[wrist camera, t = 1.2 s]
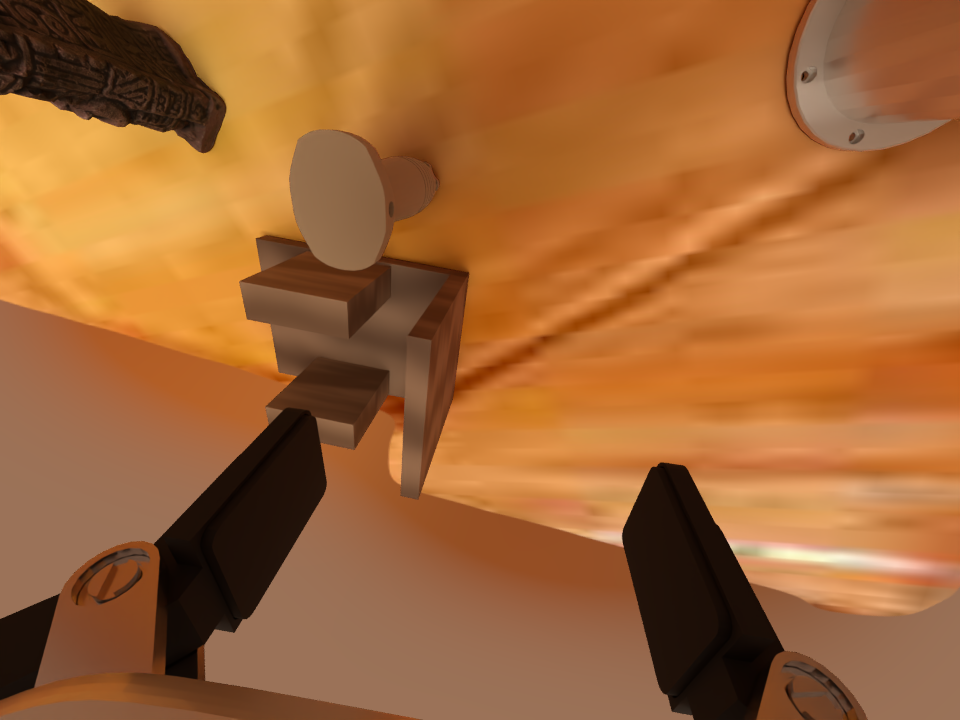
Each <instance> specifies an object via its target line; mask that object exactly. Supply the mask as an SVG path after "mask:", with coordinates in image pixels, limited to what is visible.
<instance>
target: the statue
mask: <svg viewBox="0 0 960 720" xmlns="http://www.w3.org/2000/svg"><path fill="white" fill-rule="evenodd" d="M9 93H13V94H17V95H21V96H25V97H29V98H34V99H38V100H43V101H48V102H51V103H52V104H53V105H55V106H56V107H58V108H59V109H60V110H67V111H71V112H74V113H75V114H76V115H77V116H79V117H81V118H83V119H86V120H90V119H91V118H92V117H95V118H97V119H99V120H101V121H103V122H106V123H108V124H111V125H114V126H117V127H125V126H127V125H128V124H130V123H131V124H134V125H141V126H144V127H147V128H150V129H153V130H157V131H160V132H166V131H170V130H174V131H175V132H176V133H177V135H178V136H180V137H182V138H184V139H185V140H186V141H187V142H188V143H189V144H190V145H191V146H192V147H193V148H195V149H196V150H197V151H199V152H201V153H206V152H208V151H209V150H210V149H211V148H212V147H213V145H214V141H215V137H216V135H217V133H218V131H219V129H220V127H221V123H222V121H223V118H224V116H225V111H226V106H225V103H224V101H223V100H222V99H221V98H220V97H219V96H218V95H217V93H216V92H213V91H212V90H211V89H210V88H209V87H208V86H207V85H206V84H205V83H204V82H203V81H202V80H201V79H200V78H199V77H197V76H196V73H195V71H194V69H193V67H192V65H191V63H190V61H189V59H188V58H187V57H186V56H185V54H184V53H183V51H182V49H181V47H180V45H179V44H177V43H176V42H175V41H173V40H172V39H171V38H170V37H168V36H167V35H166V34H165V33H164V32H163V31H162V30H160V29H159V28H158V27H156V26H152V25H149V24H145V23H140V22H135V21H128V20H124V19H121V18H120V17H118V16H110V15H108V14H107V13H105V12H104V11H102V10H101V9H99V8H98V7H96V6H95V5H93V4H92V3H90V2H89V1H87V0H0V95H6V94H9Z"/></svg>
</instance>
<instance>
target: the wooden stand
mask: <svg viewBox="0 0 960 720" xmlns="http://www.w3.org/2000/svg"><path fill="white" fill-rule="evenodd" d="M256 243H257V248H258V254H259V260H260V266H261V272H259V273H257V274H255V275H252V276H250V277H248V278H246V279H243V280H241V281H239V283H240V288H241V292H242V297H243V302H244V307H245V312H246V316H247V319H248V320H253V321H258V322H263V323H269V324H271V329H272V335H273V341H274V347H275V353H276V358H277V364H278V370H279V372H280V373H285V374H290V375H294V376H297V377H296V378H295V379H294V380H293V381H292V382H291V383H290V384H289V385H288V386H287V387H286V388H285V389H284V390H283V391H282V392H280V394H278V395H277V396H276V397H275V398H274V399H273V400H272V401H271V402H270V403H269V404H268V405H267V406H266V407H265V408H266V412H267V417H268V422H269V424H270V423H271V422H272V421H273V420H274V419H275V418H276V417H277V416H278V415H279V414H280V413H281V412H282V411H283V410H284V409H285V408H288V407H290V408H297V409H304V410H309V411H310V412H311V415H312V416H314V417H315V418H316V420H317V426H318V432H319V438H320V443H324V444H329V445H334V446H338V447H343V448H348V449H353V450H355V448H356V447H357V445H358V443H359V442H360V440H361V438H362V437H363V435H364V433H365V432H366V430H367V428H368V427H369V425H370V424H371V422H372V420H373V419H374V417H375V415H376V414H377V412H378V411H379V409H380V407H381V406H382V404H383V402H384V401H385V399H386V397H387V396H388V395H393V396H398V397H403V398H405V406H404V429H403V451H402V474H401V496H404V497H408V498H413V499H419V496H420V493H421V490H422V487H423V484H424V481H425V478H426V476H427V473H428V470H429V467H430V464H431V461H432V458H433V455H434V452H435V449H436V446H437V444H438V441H439V438H440V435H441V432H442V429H443V426H444V423H445V420H446V417H447V414H448V411H449V409H450V406H451V403H452V400H453V393H454V385H455V378H456V370H457V362H458V355H459V347H460V339H461V332H462V324H463V316H464V309H465V301H466V293H467V286H468V278H469V273H467V272H462V271H456V270H451V269H445V268H440V267H435V266H429V265H424V264H418V263H413V262H407V261H402V260H397V259H391V258H386V257H381V259H380V260H378V261H377V262H376V263H374V264H373V265H371V266H369V267H367V268H365V269H362V270H354V271H352V270H342V269H337V268H334V267H331V266H329V265H327V264H325V263H323V262H322V261H320V260H319V259H317V258H316V257H315V256H314V254H313V253H312V251H311V249H310V247H309V246H308V244H307V243H305V242H299V241H294V240H289V239H283V238H278V237H272V236H267V235H266V236H263V237H259V238H256Z"/></svg>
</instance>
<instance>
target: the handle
mask: <svg viewBox="0 0 960 720" xmlns="http://www.w3.org/2000/svg"><path fill="white" fill-rule="evenodd" d="M289 182H290V192H291V198H292V204H293V211H294V215H295V219H296V222H297V225H298V227H299V229H300V231H301V233H302V235H303V237H304V239H305V240H306V242H307V244H308V246H309V247H310V249H311V251H312V253H313V254H314V256H315V257H316V258H317V259H319V260H320V261H322V262H323V263H325V264H327V265H329V266H331V267H334V268H337V269H342V270H352V271H354V270H362V269H365V268H367V267H369V266H371V265H373V264H374V263H376V262H377V261H378V260H380V259H381V257H382V255H383V253H384V250H385V248H386V246H387V244H388V241H389V239H390V236H391V233H392V230H393V224H394V222H395V221H399V220H402V219H406V218H409V217H411V216H413V215H415V214H417V213H419V212H420V211H422V210H423V209H424V208H425V207H426V206H427V205H428V204H429V203H430V202H431V200H432V198H433V197H434V194H435V191H437V190H438V188H439V180H438V179H437V178H436V177H435V175H434V173H433V171H432V166H431V165H430V164H429V163H427V162H422V161H420V160H418V159H415V158H411V157H406V156H396V157H389V158H386V159H382V160H381V159H380V157H379V155H378V153H377V151H376V149H375V147H373V146H372V145H371V144H370V143H369V142H367V141H366V140H364V139H363V138H361V137H359V136H357V135H354V134H352V133H348V132H343V131H338V130H316V131H311V132H309V133H307V134H305V135H303V136H302V137H301V138H300V139H298V141H297V145H296V149H295V152H294V156H293V160H292V164H291V169H290V177H289Z"/></svg>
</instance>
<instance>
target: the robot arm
mask: <svg viewBox="0 0 960 720" xmlns="http://www.w3.org/2000/svg"><path fill="white" fill-rule="evenodd" d="M802 73H804V78H803V80H802V81H801V75H802ZM786 81H787V97H788V101H789V105H790V108H791V111H792V115H793V117H794V118H795V120H796V122H797V123H798V125H799V127H800V128H801V130H803V131H804V132H805V133H806V134H807V135H808V136H809V137H810V138H811V139H812V140H814V141H816V142H818V143H820V144H822V145H824V146H826V147H828V148H833V149H838V150H842V151H872V150H882V149H886V148H890V147H894V146H898V145H901V144H905V143H907V142H910V141H912V140H914V139H917V138H919V137H921V136H924V135H926V134H928V133H930V132H932V131H933V130H935V129H937V128H939V127H940V126H942V125H944V124H946V123H947V122H949V121H951V120H952V119H960V0H811V1H810V3H809V4H808V6H807V8H806V11H805V13H804V15H803V17H802V20H801V22H800V24H799V26H798V28H797V31H796V34H795V37H794V41H793V44H792V47H791V51H790V54H789V61H788V69H787V76H786ZM850 135H851V136H850ZM849 136H850V138H849ZM848 139H849V140H848ZM326 485H327V481H326V475H325V469H324V463H323V457H322V450H321V445H320V438H319V432H318V426H317V420H316V418H315V417H314V416H312V415H311V412H310V411H309V410H304V409H297V408H290V407H288V408H285V409H284V410H283V411H282V412H281V413H280V414H279V415H278V416H277V417H276V418H275V419H274V420H273V421H272V422H271V423H270V424H269V426H268V427H267V428H266V429H265V430H264V431H263V432H262V433H261V434H260V435H259V436H258V437H257V438H256V439H255V440H254V441H253V442H252V443H251V444H250V446H248V447H247V449H246V450H245V451H244V452H243V453H242V454H240V455H239V456H238V457H237V458H236V459H235V460H234V461H233V462H232V463H231V464H230V465H229V466H228V468H226V469H225V470H224V472H223V473H222V474H221V475H220V476H219V477H218V478H217V479H216V480H215V481H214V482H213V483H212V484H211V485H210V486H209V487H208V488H207V490H205V491H204V492H203V493H202V494H201V496H200V497H199V498H198V499H197V500H196V501H195V502H194V503H193V504H192V505H191V506H190V507H189V508H188V509H187V510H186V511H185V512H184V513H183V514H182V515H181V516H180V517H179V518H178V519H177V521H175V523H174V524H173V525H172V526H171V527H170V528H169V529H168V530H167V531H166V532H165V533H164V534H163V535H162V536H161V537H160V538H159V539H158V540H157V541H156V542H155V543H154V544H152V543H148V542H145V541H137V542H128V543H125V544H121V545H117V546H115V547H113V548H110V549H108V550H106V551H103V552H102V553H100V554H98V555H97V556H95V557H94V558H92V559H90V560H89V561H87V562H86V563H85V564H84V565H83V566H81V567H80V568H79V569H78V570H77V571H76V572H74V574H73V575H72V576H71V577H70V578H69V580H68V581H67V582H66V583H65V585H64V587H63V589H62V591H61V593H60V594H58V595H56V596H53V597H51V598H48V599H46V600H44V601H41V602H39V603H37V604H34V605H32V606H30V607H27V608H25V609H23V610H20V611H18V612H16V613H13V614H11V615H9V616H6V617H4V618H2V619H0V720H420V719H415V718H410V717H405V716H399V715H394V714H389V713H383V712H378V711H373V710H367V709H362V708H357V707H350V706H345V705H340V704H335V703H329V702H324V701H317V700H312V699H306V698H301V697H296V696H291V695H285V694H280V693H274V692H268V691H263V690H258V689H252V688H247V687H240V686H234V685H228V684H221V683H215V682H209V681H205V652H204V644H205V643H206V641H207V640H208V638H209V637H210V635H211V634H212V632H213V631H214V629H217V630H222V631H228V632H233V633H234V632H235V631H236V629H237V628H238V626H239V624H240V623H241V621H242V619H247V618H248V617H250V616H251V615H252V613H253V612H254V610H255V609H256V607H257V605H258V604H259V602H260V600H261V599H262V597H263V595H264V594H265V592H266V590H267V588H268V587H269V585H270V584H271V582H272V580H273V579H274V577H275V575H276V574H277V572H278V570H279V569H280V567H281V565H282V563H283V562H284V560H285V558H286V557H287V555H288V554H289V552H290V550H291V549H292V547H293V545H294V543H295V542H296V540H297V538H298V537H299V535H300V534H301V532H302V530H303V529H304V527H305V525H306V524H307V522H308V520H309V518H310V517H311V515H312V513H313V512H314V510H315V508H316V507H317V505H318V503H319V502H320V500H321V498H322V497H323V495H324V492H325V490H326ZM622 541H623V546H624V550H625V554H626V557H627V562H628V565H629V569H630V573H631V577H632V581H633V585H634V589H635V593H636V597H637V601H638V605H639V609H640V613H641V617H642V621H643V625H644V629H645V633H646V637H647V641H648V645H649V649H650V653H651V657H652V661H653V665H654V669H655V673H656V677H657V681H658V684H659V687H660V689H661V691H662V692H663V693H664V694H667V695H668V698H669V702H670V706H671V710H672V712H677V713H682V714H688V715H693V718H694V720H868V719H867V717H866V715H865V713H864V710H863V709H862V707H861V706H860V704H859V703H858V701H857V700H856V699H855V697H854V695H853V694H852V693H851V692H850V691H849V690H848V688H847V687H846V686H845V685H844V684H843V683H842V682H841V681H840V680H839V678H837V677H836V676H835V675H834V674H833V673H831V672H830V671H829V670H828V669H827V668H826V667H824V666H823V665H821V664H820V663H818V662H816V661H815V660H813V659H812V658H810V657H808V656H805V655H803V654H800V653H797V652H790V651H784V649H783V647H782V645H781V643H780V641H779V639H778V637H777V636H776V633H775V632H774V630H773V628H772V626H771V624H770V622H769V620H768V619H767V616H766V614H765V612H764V610H763V609H762V607H761V605H760V603H759V601H758V599H757V597H756V596H755V593H754V591H753V590H752V588H751V586H750V584H749V582H748V580H747V578H746V576H745V574H744V572H743V570H742V568H741V567H740V565H739V563H738V561H737V559H736V557H735V555H734V553H733V551H732V549H731V547H730V546H729V544H728V542H727V540H726V538H725V536H724V534H723V532H722V531H721V529H720V528H719V526H718V525H717V524H715V522H714V520H713V518H712V516H711V514H710V512H709V510H708V508H707V506H706V504H705V502H704V500H703V499H702V497H701V495H700V493H699V491H698V489H697V487H696V485H695V483H694V481H693V479H692V477H691V475H690V473H689V471H688V470H687V468H686V467H685V466H683V465H676V464H670V463H659V464H658V466H657V467H652V468H651V469H650V471H649V473H648V476H647V478H646V480H645V482H644V484H643V487H642V489H641V491H640V493H639V495H638V498H637V500H636V502H635V504H634V506H633V509H632V511H631V513H630V515H629V517H628V520H627V522H626V524H625V526H624V528H623V533H622Z"/></svg>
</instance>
